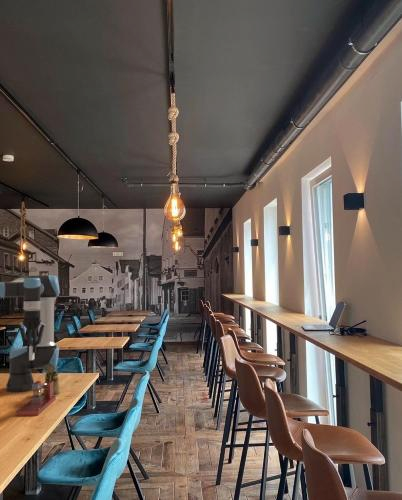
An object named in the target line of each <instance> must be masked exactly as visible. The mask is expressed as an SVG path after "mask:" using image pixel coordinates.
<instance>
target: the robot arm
mask: <svg viewBox="0 0 402 500" xmlns="http://www.w3.org/2000/svg"><path fill="white" fill-rule="evenodd" d="M59 284H60V283H59V279H58V276H56V275H55V274H54V275H53V274H52V275H50V274H46V275H45V274H44V275H26V276H21V277H18V278H15V279H14V280H12V281H11V280H10V281H2V282H1V281H0V298H23V321H22V323H21V324H18V325H17V328H18V329H19V333H20V337H21V340H22V344H23V345H24V346H20V347H16V348H13V349H11V350H10V353H9V358H8V359H9V377H8V380H7V382H6V386H5V391H7V392H9V393H10V392H13V393H14V392H15V393H16V392H17V393H18V392H23V391H27V390H22V385H23V384H34V383H35V380H34V377H33V373H32V370H38V369H39V370H40V369H43V370H44V366H45V365H46V364H48V363H49V364H52V365H54V366H55V368H56V367H57V364H58V361H59V356H60V355H59V354H60V347H58V346H57V343H56V342H55V335H54V334H55V301H56V299H57V297H58V295H60V293H61V291H60V285H59ZM25 329H26V330H25ZM37 333H38V334H37Z"/></svg>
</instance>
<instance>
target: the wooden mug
mask: <svg viewBox="0 0 402 500" xmlns="http://www.w3.org/2000/svg"><path fill="white" fill-rule="evenodd" d="M43 371H44V372H45V378H44V379H45V380H44V384H46V383H47V382H49V381H53V396H57V395H59V394H60V393H61V390H60V384H59V383H60V381H59V373H58V371H56V367H55V366H54V365H52V364H49V363H48V364H46V365H45V366H44V368H43ZM42 395H43V396H46V389H43V392H42Z"/></svg>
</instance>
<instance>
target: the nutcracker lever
mask: <svg viewBox="0 0 402 500" xmlns="http://www.w3.org/2000/svg"><path fill="white" fill-rule="evenodd" d="M38 388H40V389H41V390H42V389H43V390H44V389H46V384H45V383H41V384H40V385H38V384H23V385H22V390H26V391H29V390H31V391H33V390H34V389H38Z"/></svg>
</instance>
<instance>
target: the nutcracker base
mask: <svg viewBox="0 0 402 500" xmlns="http://www.w3.org/2000/svg"><path fill="white" fill-rule="evenodd" d="M34 384H38V385H40V384H42V381H41V380H37V381H34ZM32 392H33V394H32V395H33V396H32V397H31V399H30V400H29V401H28V402H26V404H24V405H23V406H21V407H20V408H19V409H18V410H16V415H15V416H16V417H17V416H18V417H21V416H22V417H24V416H25V417H27V416H31V417H33V416H34V417H35V416H39V415H40V414H41V413H43V412H44V411H45V410H46V409H47V408H48V407H49V406H50V405H51V404H53V403H54V402H55V401H56V399H57V395H53V381H49V382H47V383H46V395H43V394H42V389H40V388H38V389H34V390H32Z"/></svg>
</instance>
